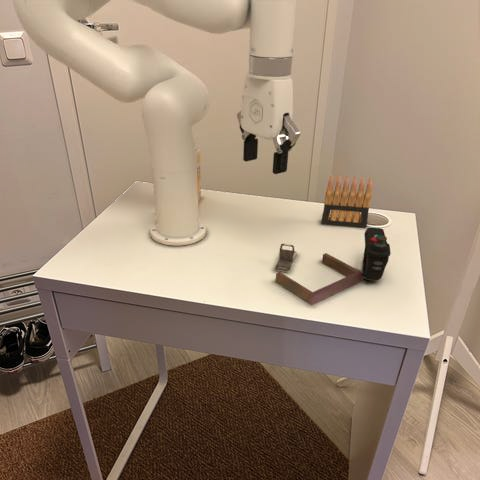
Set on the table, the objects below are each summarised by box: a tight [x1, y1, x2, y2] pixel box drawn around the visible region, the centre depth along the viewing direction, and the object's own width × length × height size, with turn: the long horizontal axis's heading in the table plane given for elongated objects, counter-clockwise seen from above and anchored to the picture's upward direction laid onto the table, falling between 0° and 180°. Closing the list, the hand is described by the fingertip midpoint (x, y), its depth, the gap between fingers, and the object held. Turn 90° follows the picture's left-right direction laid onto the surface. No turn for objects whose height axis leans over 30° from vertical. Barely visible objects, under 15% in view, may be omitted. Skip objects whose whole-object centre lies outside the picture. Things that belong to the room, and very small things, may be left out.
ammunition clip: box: [320, 174, 373, 229], centre depth 110 cm, size 11×2×12 cm, turn 81°
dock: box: [275, 252, 364, 306], centre depth 92 cm, size 10×14×2 cm
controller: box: [361, 227, 392, 282], centre depth 92 cm, size 4×12×10 cm, turn 171°
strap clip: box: [274, 243, 297, 273], centre depth 97 cm, size 8×3×4 cm, turn 162°
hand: (264, 165), depth 93 cm, fingers open, 8 cm apart
